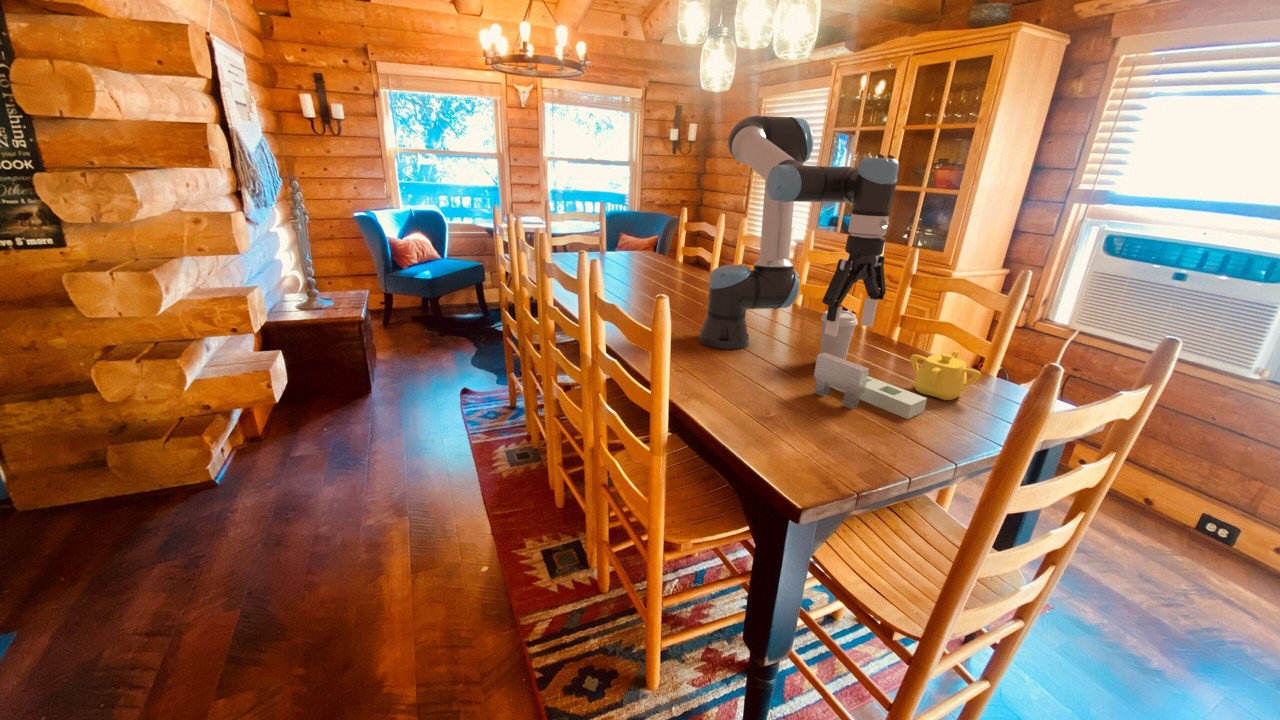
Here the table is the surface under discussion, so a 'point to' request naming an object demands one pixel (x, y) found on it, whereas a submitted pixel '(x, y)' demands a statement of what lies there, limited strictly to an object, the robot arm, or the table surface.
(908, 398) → the rail
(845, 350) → the coffee cup
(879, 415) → the table surface
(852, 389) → the grey piece
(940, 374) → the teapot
